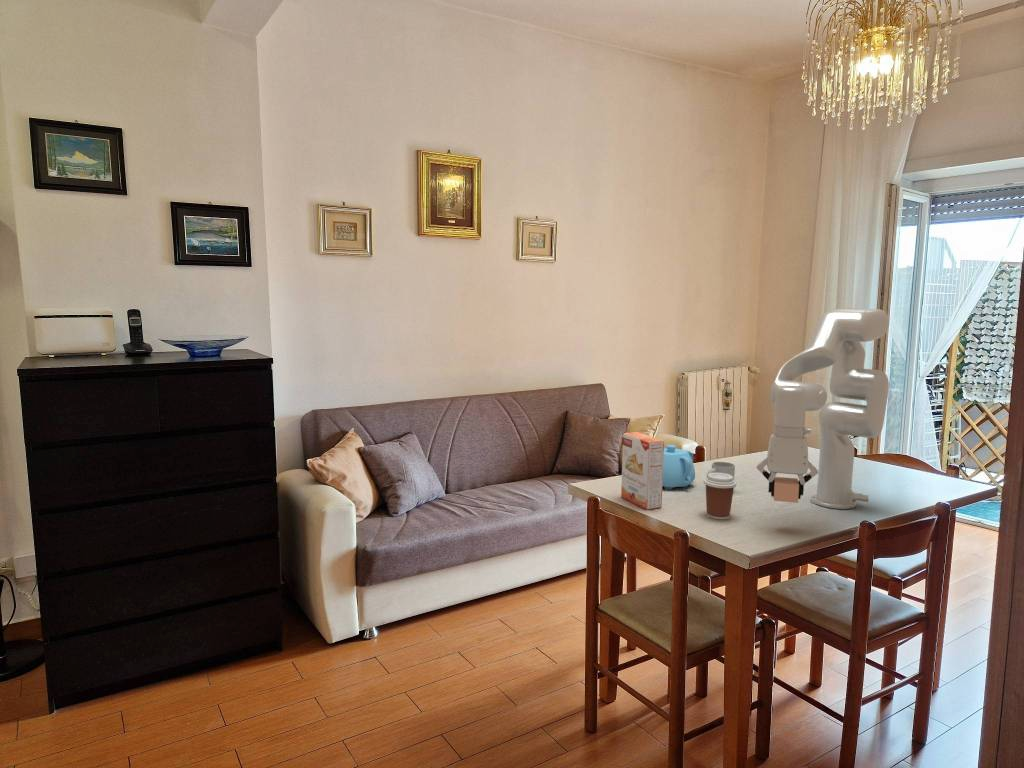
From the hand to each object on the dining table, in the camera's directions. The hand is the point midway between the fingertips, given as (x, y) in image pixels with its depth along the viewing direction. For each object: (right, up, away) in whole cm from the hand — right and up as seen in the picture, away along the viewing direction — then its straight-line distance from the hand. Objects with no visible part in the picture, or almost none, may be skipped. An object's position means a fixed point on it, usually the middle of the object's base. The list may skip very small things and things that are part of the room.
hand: (785, 495), depth 180 cm
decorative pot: (-21, -4, +44) cm, 49 cm away
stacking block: (0, -1, 0) cm, 1 cm away
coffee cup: (-15, -8, +12) cm, 21 cm away
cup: (-7, -5, +37) cm, 38 cm away
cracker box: (-35, -6, +23) cm, 43 cm away
